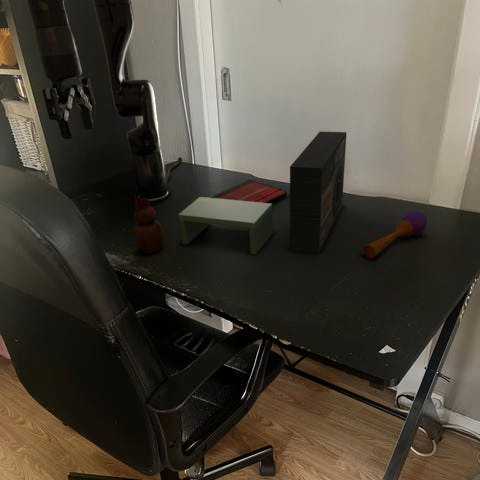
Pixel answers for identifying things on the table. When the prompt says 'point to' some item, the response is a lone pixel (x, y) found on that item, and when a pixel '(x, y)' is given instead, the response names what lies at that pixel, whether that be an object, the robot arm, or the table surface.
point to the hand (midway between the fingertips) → (79, 133)
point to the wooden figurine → (147, 227)
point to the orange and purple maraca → (399, 232)
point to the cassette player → (316, 191)
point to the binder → (252, 192)
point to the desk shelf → (228, 219)
